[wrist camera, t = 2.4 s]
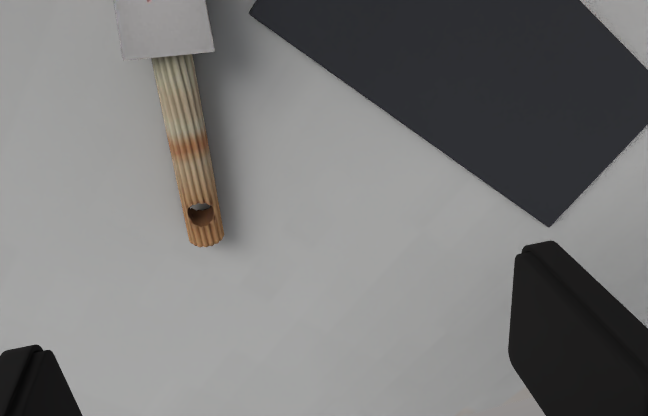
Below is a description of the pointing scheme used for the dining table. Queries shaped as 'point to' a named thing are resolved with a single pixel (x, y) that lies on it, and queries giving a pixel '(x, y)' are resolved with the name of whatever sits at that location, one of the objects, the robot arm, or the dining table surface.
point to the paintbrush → (178, 97)
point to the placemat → (485, 83)
